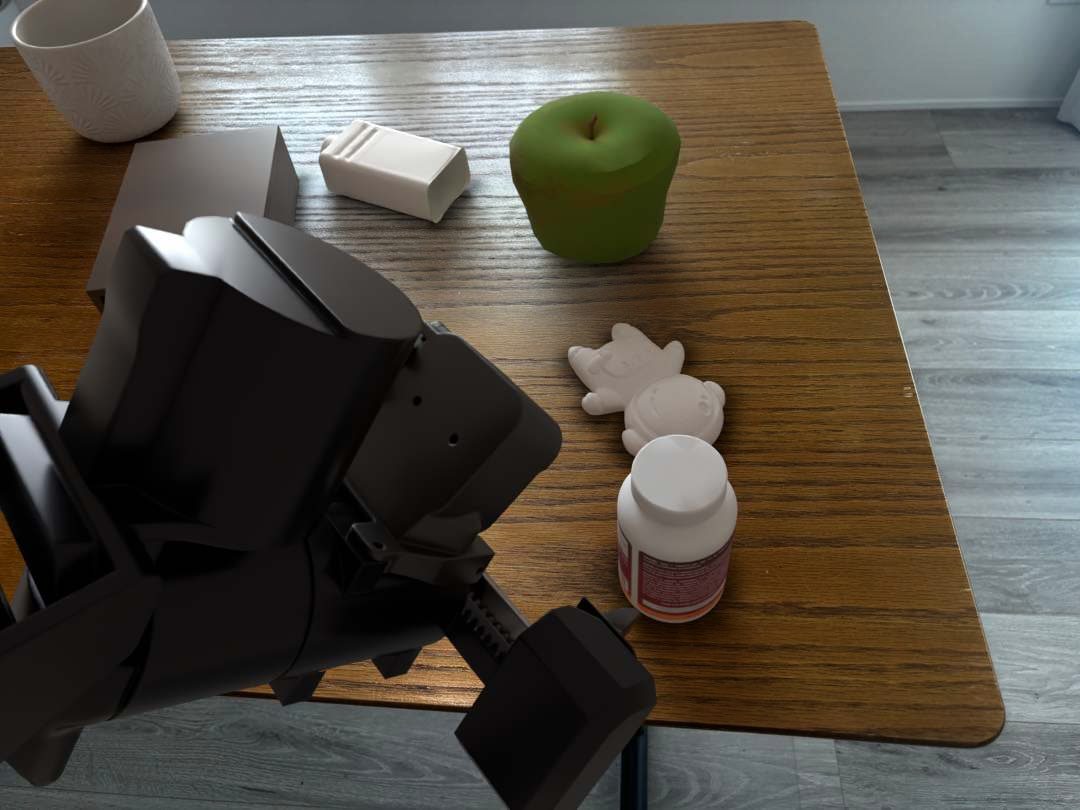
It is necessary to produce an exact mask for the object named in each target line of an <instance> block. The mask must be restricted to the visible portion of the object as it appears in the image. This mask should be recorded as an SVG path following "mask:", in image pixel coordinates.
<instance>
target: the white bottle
mask: <svg viewBox="0 0 1080 810" xmlns="http://www.w3.org/2000/svg"><path fill="white" fill-rule="evenodd" d="M318 165H319V168H320V171H321V174H322V177H323V180H324V183H325V186H326V189H327V190H328V192H330V193H332V194H335V195H337V196H344V197H346V198H350V199H354V200H357V201H362V202H365V203H368V204H372V205H376V206H378V207H383V208H386V209H388V210H392V211H397V212H398V213H403V214H406V215H408V216H411V217H412V216H413V217H416V218H420V219H424V220H427V221H430V222H433V223H434V224H438V223H439V222H440V221H441V220H442V218H443V217H444V215H445V213H446V212H447V211H448V210H449V208H450V207H451V205H452V204H453V203H454V202H455V200H456V199H457V198H459V197H460V196H461V195H462V193H464V192H465V190H466V189H467V188H468V186H469V185H470V184H471V177H472V175H471V170H470V164H469V159H468V156H467V152H466V149H465V148H464V147H460V146H455V145H452V144H449V143H444V142H442V141H437V140H435V139H434V140H433V139H430V138H427V137H422V136H419V135H415V134H411V133H407V132H403V131H401V130H396V129H393V128H390V127H386V126H382V125H379V124H375V123H371V122H368V121H366V120H363V119H354V120H353V121H352V122H350V124H349V125H348V126H347V127H346V128H345V129H344V130H342V132H341V133H340V134H339V135H336V134H332V135H329V136H327V137H325V138H324V140H323V142H322V143H321V146H320V149H319V155H318Z"/></svg>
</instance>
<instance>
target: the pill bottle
mask: <svg viewBox="0 0 1080 810" xmlns="http://www.w3.org/2000/svg"><path fill="white" fill-rule="evenodd" d="M727 468H728V467H727V465H726V463H725V460H724V458H723V456H722V455H721V454H720V453H719V452H718V450H717V449H716V448H715V447H713V445H709V444H708V443H706V442H705V441H703V440H701V439H698V438H695V437H692V436H687V435H668V436H663V437H660V438H657V439H655V440H653V441H651V442H649V443H648V444H646V445H645V446H644V447H643V448H642V449H641V450H640V451H639V452H638V454H637V455H636V457H635V456H634V459H633V462H632V465H631V472H630V473H629V474H628V475H627V477H626V478H625V479H624V481H623V483H622V485H621V487H620V489H619V493H618V496H617V502H616V504H617V506H616V518H617V519H616V521H617V523H616V524H617V555H618V557H617V558H618V559H617V561H618V576H619V577H618V578H619V582H620V585H621V589H622V591H623V593H624V595H625V597H626V598H627V600H628V601H629V602H630V604H631V605H632V606H633V608H636V609H637V610H638V611H639V612H640V613H641V614H643V615H644V616H646V617H648V618H650V619H652V620H655V621H659V622H663V623H669V624H681V623H687V622H688V623H689V622H692V621H694V620H697V619H700V618H701V617H703V616H704V615H706V614H707V613H709V612H710V611H711V610H712V609H713V608H714V607H715V606H716V605H717V603H718V602H719V601H720V599H721V597H722V595H723V592H724V589H725V587H726V583H727V582H726V581H727V578H728V577H727V576H728V570H729V567H730V566H729V565H730V559H731V554H732V547H733V543H734V537H735V531H736V527H737V520H738V501H737V496H736V494H735V493H736V492H735V491H734V488H733V486H732V485H731V483H730V481H729V480H728V479H729V474H728V469H727Z"/></svg>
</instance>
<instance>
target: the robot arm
mask: <svg viewBox="0 0 1080 810" xmlns="http://www.w3.org/2000/svg"><path fill="white" fill-rule="evenodd" d="M72 391H73V392H72V394H71V396H70V400H69V401H68V400H67V401H66V400H61V398H60V396H59V394H58V393H57V390H56V389H55V388H54V386H53V384H52V382H51V380H50V379H49V377H48V375H47V374H46V372H45V371H44V369H42V367H41V366H39V365H35V364H23V365H20V366H18V367H17V366H16V367H15V368H13V369H10V370H8V371H6V372H3V373H0V511H1V513H2V515H3V517H4V519H5V522H6V524H7V527H8V529H9V531H10V532H11V535H12V537H13V539H14V542H15V544H16V546H17V548H18V551H19V552H20V555H21V557H22V559H23V561H24V563H25V566H24V568H23V570H22V573H21V576H20V578H19V580H18V583H17V586H16V589H15V591H14V594H13V596H12V599H11V601H10V602H9V600H8V598H7V595H6V593H5V590H4V588H3V586H2V583H1V582H0V765H1V764H2V763H3V762H5V763H6V764H7V765H8V766H9V767H10V768H12V769H13V770H14V771H15V773H17V775H19V776H20V777H21V778H23V779H24V780H26V781H27V782H28V783H29V784H30V785H31V786H33V787H35V788H44V787H47V786H50V785H52V784H54V783H55V782H56V781H58V780H59V779H60V778H61V776H62V775H63V774H64V771H65V770H66V767H67V765H68V762H69V761H70V758H71V756H72V754H73V751H74V749H75V748H76V745H77V743H78V740H79V739H80V737H81V734H82V732H83V730H84V729H85V727H88V726H93V725H97V724H101V723H104V722H110V721H115V720H119V719H122V718H127V717H132V716H136V715H139V714H140V715H141V714H144V713H148V712H149V713H150V712H154V711H158V710H161V709H166V708H170V707H174V706H179V705H182V704H183V705H184V704H186V703H190V702H195V701H199V700H203V699H207V698H212V697H216V696H221V695H224V694H230V693H233V692H237V691H242V690H246V689H250V688H255V687H259V686H264V685H267V684H268V685H269V687H270V688H271V690H272V692H273V693H274V695H275V696H276V698H277V700H278V702H279V703H280V705H281V707H283V708H284V707H287V706H290V705H291V706H292V705H294V704H298V703H302V702H307V701H310V700H311V698H312V697H313V696H314V693H315V691H316V690H317V688H318V687H319V686H320V683H321V681H322V680H323V678H324V676H325V674H326V673H327V671H328V670H330V669H331V670H332V669H336V668H340V667H344V666H347V665H351V664H357V663H361V662H365V661H369V660H370V661H371V662H372V663H373V665H374V667H375V668H376V669H377V671H378V672H379V673H380V675H381V676H382V678H383V679H384V680H388V679H392V678H397V677H400V676H404V675H407V674H408V672H409V671H410V669H411V667H412V666H413V664H414V663H415V661H416V659H417V657H418V656H419V655H420V653H421V651H422V649H423V648H425V647H428V646H431V645H434V644H436V643H438V642H439V641H441V640H442V639H444V638H445V637H446V638H447V640H448V641H449V642H450V644H451V645H452V646H453V647H454V649H455V650H456V651H457V653H458V654H459V655H460V656H461V658H462V659H463V660H464V662H465V663H466V664H467V665H468V667H469V668H470V669H471V670H472V672H473V673H474V674H475V676H476V677H477V678H478V679H479V681H481V683H482V684H483V686H484V687H483V688H482V689H481V691H480V693H478V695H477V697H476V698H475V700H474V701H473V703H472V705H471V706H470V708H469V709H468V711H467V712H466V714H464V716H463V718H462V720H461V721H460V723H459V724H458V726H457V727H456V729H455V731H454V732H453V734H454V736H455V738H456V740H457V742H458V744H459V746H460V747H461V749H462V750H463V751H464V752H465V754H466V755H467V756H468V758H469V759H470V760H471V763H473V765H474V766H475V767H476V769H477V770H478V771H479V773H480V775H482V777H483V778H484V780H485V781H486V783H487V784H488V786H490V788H491V789H492V791H493V793H495V795H496V797H498V799H499V800H500V802H501V803H502V804H503V806H504V808H505V809H506V810H578V809H579V808H580V806H581V805H582V804H583V803H584V801H585V800H586V798H587V797H588V796H589V795H590V793H591V792H592V791H593V789H594V788H595V786H596V785H597V784H598V783H599V781H601V778H603V776H604V775H605V773H606V772H607V771H608V770H609V769H610V767H611V765H612V764H613V763H614V761H615V760H616V759H617V757H618V756H619V755H620V754H621V752H622V751H623V750H624V749H625V747H626V746H627V744H628V743H629V742H630V741H631V739H632V738H633V736H634V735H635V734H636V732H638V730H639V729H640V727H641V726H642V725H643V724H644V722H645V721H646V720H647V718H648V717H649V715H650V714H651V713H652V712H653V710H654V709H655V707H656V706H658V698H657V689H656V681H655V676H654V675H653V674H652V673H651V672H650V670H648V669H647V668H646V667H645V666H644V665H643V664H642V663H641V661H640V660H639V659H638V654H637V652H636V650H635V648H634V647H633V645H632V644H631V643H630V642H629V641H628V640H627V639H626V638H627V636H628V635H629V634H630V632H631V631H632V629H633V628H634V627H635V625H636V624H637V623H638V622H639V620H640V618H641V617H642V612H640V611H639V610H638V609H636V608H635V607H618V608H615V609H612V610H608V611H604V612H601V611H600V610H599V609H598V608H597V607H596V606H595V605H594V603H592V602H591V601H590V600H589V598H588V597H587V596H585V595H584V596H582V598H581V599H580V600H579V602H578V603H577V605H576V606H574V605H571V604H568V605H564V606H559V607H554V608H551V609H549V610H548V611H546V613H544V614H543V615H541V616H540V617H539V618H538V619H536V621H534V622H531V621H530V619H528V617H526V615H525V614H524V613H523V612H522V611H521V610H520V608H518V606H517V605H516V604H515V603H514V601H512V599H511V598H510V597H509V596H508V595H507V594H506V593H505V591H504V590H503V589H502V588H501V587H500V585H498V583H497V582H496V581H495V579H493V578H492V576H491V575H490V574H489V573H488V572H487V571H486V570H487V568H488V567H489V565H490V564H491V562H492V560H493V558H494V557H495V555H496V552H495V551H494V550H493V549H492V548H491V546H490V545H489V544H488V543H487V542H486V541H485V540H484V539H483V537H482V536H481V535H479V534H481V533H483V532H486V531H487V530H488V529H489V528H491V527H492V526H493V525H494V524H495V523H496V521H497V520H498V519H500V517H501V516H502V515H503V514H504V513H505V512H506V511H507V510H508V508H510V506H511V505H512V504H513V503H514V502H515V501H516V500H517V498H518V497H519V496H520V495H521V494H522V493H523V492H524V491H525V490H526V489H527V487H528V486H530V484H531V483H532V482H533V481H534V479H535V478H536V477H537V476H538V475H539V474H541V473H542V472H545V471H546V470H547V469H548V468H549V467H550V466H551V465H552V464H553V463H554V461H555V460H556V459H557V457H558V456H559V454H560V452H561V449H562V446H563V432H562V429H561V426H560V425H559V423H558V422H557V421H556V420H555V419H554V418H553V417H552V416H551V415H550V414H549V413H548V412H547V411H546V410H544V409H543V407H541V406H540V405H539V404H538V403H537V402H536V401H535V400H533V399H532V397H531V396H529V395H528V394H527V393H526V392H525V391H524V390H523V389H522V388H521V387H519V385H517V384H516V383H515V382H514V381H513V380H512V379H511V378H510V377H509V376H508V375H507V374H506V373H505V372H504V371H502V370H501V369H500V368H499V367H498V366H496V365H495V364H494V363H493V362H491V361H490V360H489V359H488V358H487V357H486V356H484V355H483V354H482V353H481V352H480V351H478V350H477V349H476V348H474V346H472V345H471V344H470V343H468V341H466V340H465V339H464V338H463V337H462V336H460V335H458V334H457V333H455V332H452V331H451V330H450V329H449V328H448V327H447V326H446V325H445V324H444V323H443V322H441V321H438V320H435V321H432V322H430V323H429V322H428V321H427V320H425V319H423V317H422V315H421V313H420V311H419V309H418V308H417V306H416V305H415V304H414V303H413V302H412V300H411V299H410V298H409V297H408V295H407V294H405V293H404V292H403V291H402V290H401V289H400V288H399V287H398V286H397V285H395V284H394V283H393V282H392V281H390V280H389V279H387V278H386V277H385V276H384V275H382V274H381V273H380V272H378V271H377V270H375V268H372V267H371V266H369V265H368V264H366V263H364V262H363V261H361V260H360V259H358V258H357V257H356V256H353V255H351V254H349V253H348V252H346V251H344V250H342V249H341V248H339V247H337V246H335V245H333V244H331V243H329V242H327V241H324V240H323V239H320V238H319V237H317V236H314V235H313V234H310V233H308V232H306V231H302V230H300V229H298V228H295V227H290V226H288V225H286V224H283V223H280V222H277V221H274V220H270V219H267V218H264V217H261V216H258V215H254V214H250V213H246V212H241V211H237V212H236V214H235V216H234V218H231V217H221V216H204V217H196V218H194V219H192V220H190V221H188V222H186V225H185V227H184V230H183V232H182V234H181V235H179V234H174V233H170V232H166V231H161V230H157V229H153V228H148V227H144V226H140V225H136V226H134V227H132V228H130V229H128V230H126V231H125V232H124V234H123V236H122V239H121V241H120V244H119V247H118V249H117V252H116V255H115V257H114V260H113V263H112V265H111V268H110V271H109V274H108V278H107V282H106V292H105V305H104V311H103V314H102V315H101V317H100V321H99V323H98V326H97V329H96V331H95V333H94V336H93V339H92V342H91V345H90V347H89V349H88V353H87V355H86V358H85V360H84V362H83V365H82V368H81V370H80V373H79V376H78V378H77V381H76V384H75V386H74V389H73V390H72Z"/></svg>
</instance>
